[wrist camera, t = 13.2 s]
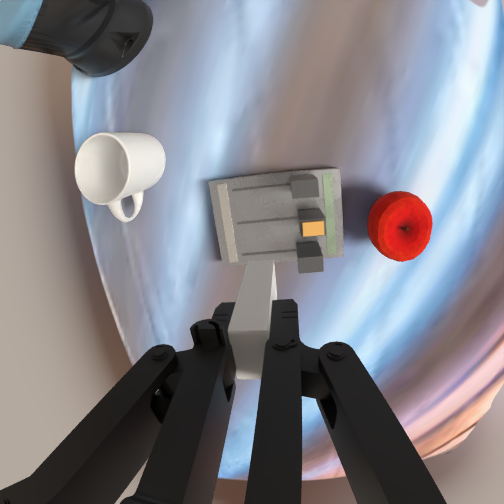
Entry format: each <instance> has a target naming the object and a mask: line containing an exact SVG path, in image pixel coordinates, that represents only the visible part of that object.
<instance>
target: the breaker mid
mask: <svg viewBox="0 0 504 504" xmlns="http://www.w3.org/2000/svg"><path fill="white" fill-rule="evenodd" d="M297 213H298V224H299V230H300V236H301V237H312V236H324V235H327V233H326V218H325V216H324V214H323V213H322V211H321V209H310V210H299V211H297Z"/></svg>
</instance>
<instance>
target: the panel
mask: <svg viewBox="0 0 504 504" xmlns="http://www.w3.org/2000/svg"><path fill="white" fill-rule="evenodd" d="M301 175H314V176H315V177H316V178H318V185H319V197H311V198H299V199H292V193H291V185H290V176H301ZM209 188H210V195H211V201H212V207H213V213H214V219H215V224H216V230H217V236H218V242H219V247H220V253H221V258H222V264H223V266H233V265H246V264H247V263H248V261H256V260H272V259H274V262H284V261H296V260H297V249H296V244H299V243H311V242H318V243H319V246H320V249H321V252H322V255H323V258H332V257H343V256H344V249H343V215H342V196H341V181H340V169H339V168H322V169H308V170H296V171H285V172H275V173H266V174H257V175H248V176H240V177H232V178H225V179H218V180H212V181H210V182H209ZM310 209H321V211H322V213H323V214H324V216H325V218H326V233H327V235H324V236H312V237H301V236H300V230H299V224H298V213H297V211H299V210H310Z"/></svg>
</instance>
